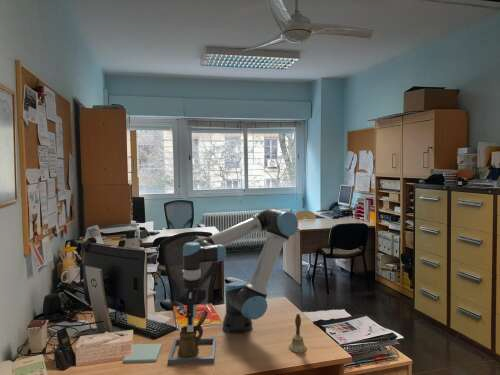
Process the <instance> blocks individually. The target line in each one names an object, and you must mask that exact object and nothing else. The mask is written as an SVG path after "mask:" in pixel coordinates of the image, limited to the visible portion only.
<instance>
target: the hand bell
mask: <svg viewBox="0 0 500 375" xmlns="http://www.w3.org/2000/svg"><path fill="white" fill-rule="evenodd" d="M295 316H296V317H295V319H294V320H295V322H294V324H295V327H296V328H295V334H294V335H293V336H292V339H291V340H292V341H291V343H290V344H289V345H288V350H289V351H291V352H293V353H295V354H300V353H305V352H306V351H307V346H306V345H305V342H304V338H303V336H302V335H301V333H300V332H301V330H300V328H301V323H302V319H301V315H300V314H299V313H296V315H295Z"/></svg>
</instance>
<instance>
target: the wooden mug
mask: <svg viewBox="0 0 500 375" xmlns="http://www.w3.org/2000/svg"><path fill="white" fill-rule="evenodd" d="M208 314H209V312H208V311H205V312H203V313H202V314H201V315H200V317H199V319H198V322H197V323H196V325H194V332H187V325H183V326H182V327H180V331H179V338H180V343H179V344H178V349H177V356H179V358H194V357H196V356H197V355H198V354H199V351H200V349H199V344H200V343H199V340H200V339H201V338H203V337H202V336H203V334H204V331H203V330H204V329H203V327H202V326H203V323H204V322H205V320H206V318H207V316H208ZM197 334H198V335H197ZM196 335H197V336H196Z"/></svg>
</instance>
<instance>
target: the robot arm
mask: <svg viewBox="0 0 500 375" xmlns="http://www.w3.org/2000/svg"><path fill="white" fill-rule="evenodd" d="M298 228H299V220H298V218H297V215H295V214H294V213H293V212H292V211H289V210H285V209H278V208H268V209H265V210H262V211H259V212H257V213H255V214H253V215H251V216H250V218H248V219H247V220H243V221H242V222H239V223H238V224H235V225H233V226H230V227H228V228H226V229H222V230H221V231H219V232H217V233H215V234H212V235H209V236H207V237H205V238H203V239H202V238H196V239H194V240H193V241H190V242H185V243H184V244H183V246H182V265H183V268H182V269H183V270H181V273H183V275H182V277H183V279H182V281H183V282H182V284H183V285H182V286H183V288H184V289H187V292H186V302H187V303H186V315H185V318H186V326H187V332H194V326H195V325H194V322H195V321H194V320H197V319H198V317H197V311H198V310H197V309H198V308H197V305H198V304H199V301H198V299H197V292H198V290H197V289H198V288H200V287H201V264H210V263H218V262H223V261H225V259H226V258H227V249H226V246H229V245H231V244H233V243H235V242H238V241H240V240H242V239H244V238H246V237H248V236H250V235H254V234H255V233H258V234H261V233H262V232H265V233H266V239H265V243H264V244H263V248H262V249H261V252H260V253H259V254H260V255H259V257H258V259H257V262H256V265H255V267H254V270H253V272H252V275H251V277H250V279H249V282H247V281H232V282H229V283H227V284H226V286H225V315H224V318H223V321H222V329H223V330H224V331H225V332H227V333H229V334H230V333H231V334H243V333H244V334H245V333H248V332H249V331H251V330H252V329H253V320H257V319H260V318H262V317H263V316H264V315H265V314H266V312H267V310H268V302H267V296H268V292H267V288H268V285H269V282H270V279H271V277H272V274H273V272H274V270H275V268H276V267H275V266H276V264H277V262H278V259H279V257H280V254H281V251H282V249H283V245H284V244H285V243H287V242H288V241H289V239H290V237H291V236H293V235H295V234H296V233H297V231H298Z"/></svg>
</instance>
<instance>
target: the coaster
mask: <svg viewBox="0 0 500 375" xmlns="http://www.w3.org/2000/svg"><path fill="white" fill-rule="evenodd" d="M131 345H132V354H131V355H129V356H126V355H125V356H124V357H123V360H122V362H123V363H147V362H154V363H155V362H158V359H159V355H160V353H161V350H162V348H163V343H143V344H142V343H140V344H139V343H138V344H133V343H132V344H131Z"/></svg>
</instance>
